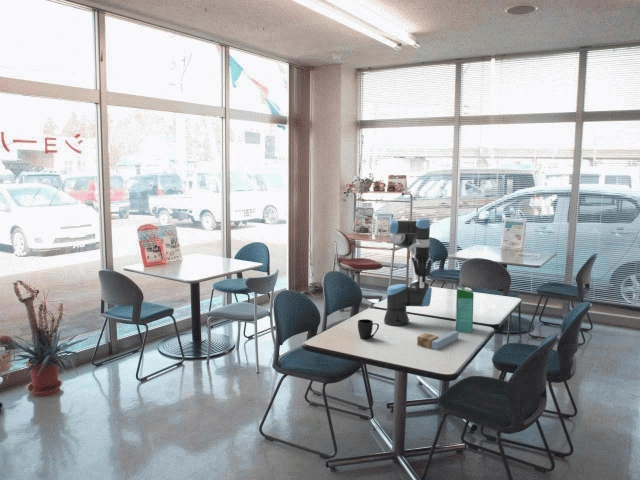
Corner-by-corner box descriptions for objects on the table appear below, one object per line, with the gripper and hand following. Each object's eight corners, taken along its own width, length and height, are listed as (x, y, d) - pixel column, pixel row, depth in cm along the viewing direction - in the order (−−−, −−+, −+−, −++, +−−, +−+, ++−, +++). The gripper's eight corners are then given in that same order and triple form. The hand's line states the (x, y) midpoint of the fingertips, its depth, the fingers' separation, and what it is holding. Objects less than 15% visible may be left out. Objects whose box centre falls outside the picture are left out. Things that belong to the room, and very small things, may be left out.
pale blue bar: (431, 348, 282) (431, 341, 282) (453, 337, 300) (453, 330, 300) (436, 349, 280) (436, 342, 280) (458, 338, 298) (458, 331, 298)
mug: (375, 341, 294) (375, 324, 293) (355, 338, 299) (355, 322, 298) (381, 337, 301) (381, 321, 300) (361, 334, 307) (361, 318, 305)
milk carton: (472, 332, 310) (473, 289, 307) (456, 331, 312) (457, 288, 308) (471, 327, 319) (472, 286, 315) (455, 326, 320) (456, 285, 317)
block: (417, 345, 288) (417, 336, 287) (425, 342, 293) (425, 333, 293) (430, 349, 282) (430, 339, 282) (438, 345, 288) (438, 336, 287)
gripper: (409, 246, 305) (408, 287, 308) (429, 248, 296) (428, 290, 299) (416, 244, 310) (415, 284, 314) (436, 246, 302) (435, 288, 305)
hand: (421, 287), depth 306 cm, fingers closed
